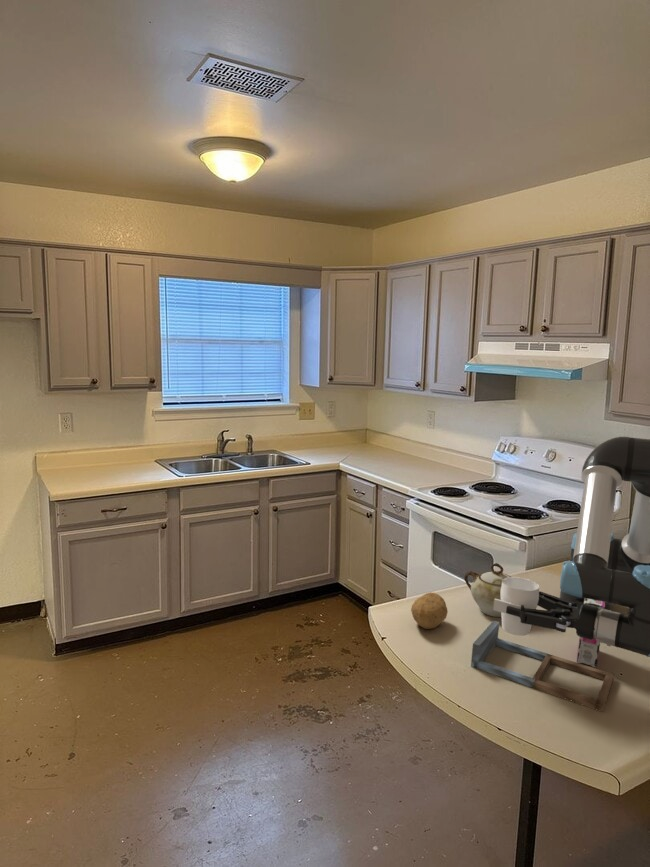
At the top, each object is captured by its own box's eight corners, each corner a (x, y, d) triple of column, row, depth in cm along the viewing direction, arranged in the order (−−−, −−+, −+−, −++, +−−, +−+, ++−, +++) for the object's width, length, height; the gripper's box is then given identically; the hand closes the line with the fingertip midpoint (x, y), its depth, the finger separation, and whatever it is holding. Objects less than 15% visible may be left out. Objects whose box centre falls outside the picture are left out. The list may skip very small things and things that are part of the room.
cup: (537, 640, 142) (542, 593, 140) (498, 635, 143) (503, 588, 142) (532, 624, 150) (537, 579, 149) (495, 619, 152) (499, 574, 151)
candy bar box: (597, 669, 148) (605, 607, 145) (576, 663, 150) (583, 602, 148) (598, 649, 158) (605, 591, 156) (578, 645, 160) (585, 587, 158)
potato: (403, 631, 163) (405, 603, 162) (418, 612, 175) (420, 586, 174) (438, 640, 159) (440, 612, 157) (450, 620, 171) (453, 593, 170)
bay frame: (613, 680, 143) (616, 656, 142) (602, 711, 130) (605, 686, 129) (491, 641, 159) (493, 620, 158) (470, 666, 146) (472, 643, 145)
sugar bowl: (454, 611, 177) (458, 563, 175) (469, 594, 190) (473, 549, 188) (521, 629, 167) (527, 579, 165) (533, 611, 180) (538, 564, 178)
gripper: (586, 658, 128) (484, 627, 140) (602, 623, 146) (511, 598, 158) (590, 625, 127) (487, 597, 139) (606, 594, 145) (514, 571, 157)
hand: (500, 597), depth 148 cm, fingers closed on cup, 9 cm apart
